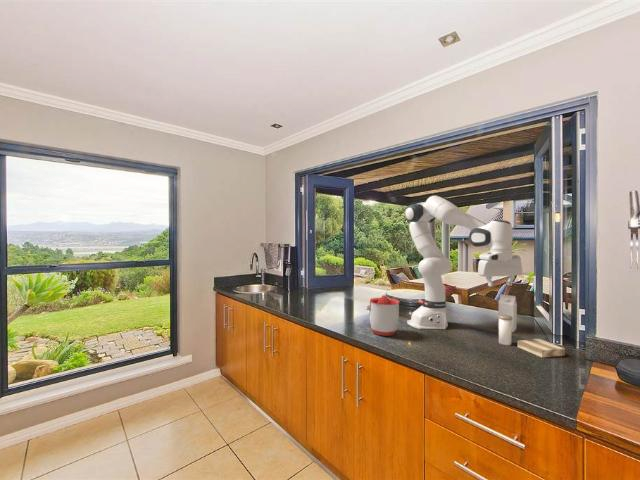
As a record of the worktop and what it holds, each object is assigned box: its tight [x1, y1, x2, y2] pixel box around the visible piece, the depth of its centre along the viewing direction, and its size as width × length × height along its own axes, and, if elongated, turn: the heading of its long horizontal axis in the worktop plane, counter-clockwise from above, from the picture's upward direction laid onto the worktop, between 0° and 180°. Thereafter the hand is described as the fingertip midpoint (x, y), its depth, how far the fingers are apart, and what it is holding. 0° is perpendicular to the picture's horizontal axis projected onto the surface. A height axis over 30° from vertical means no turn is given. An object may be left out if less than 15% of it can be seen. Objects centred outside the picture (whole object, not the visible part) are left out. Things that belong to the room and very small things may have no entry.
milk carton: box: [497, 293, 518, 333], centre depth 159 cm, size 7×7×19 cm
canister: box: [497, 315, 513, 346], centre depth 139 cm, size 6×6×13 cm
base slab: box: [517, 338, 566, 359], centre depth 130 cm, size 12×12×3 cm
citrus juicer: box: [365, 294, 400, 337], centre depth 153 cm, size 16×17×20 cm
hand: (500, 285), depth 132 cm, fingers open, 8 cm apart
